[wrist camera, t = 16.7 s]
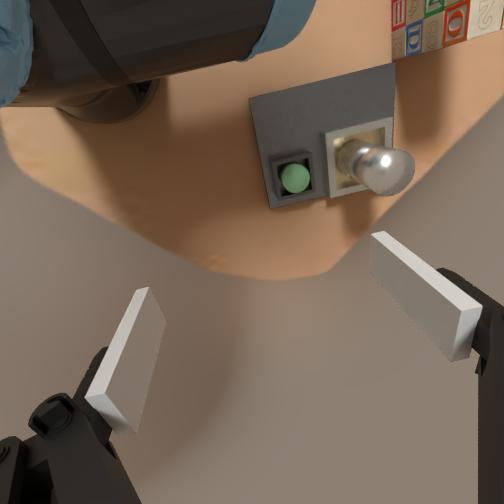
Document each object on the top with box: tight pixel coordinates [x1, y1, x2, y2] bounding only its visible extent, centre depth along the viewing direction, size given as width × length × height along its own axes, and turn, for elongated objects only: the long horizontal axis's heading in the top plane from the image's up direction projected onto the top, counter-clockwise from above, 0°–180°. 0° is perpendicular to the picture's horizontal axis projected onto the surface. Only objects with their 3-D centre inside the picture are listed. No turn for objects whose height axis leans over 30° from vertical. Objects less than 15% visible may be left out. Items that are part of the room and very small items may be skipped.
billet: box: [338, 140, 415, 196], centre depth 34 cm, size 5×5×10 cm
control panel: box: [249, 62, 396, 209], centre depth 37 cm, size 15×19×4 cm
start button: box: [279, 162, 310, 193], centre depth 37 cm, size 4×4×3 cm
